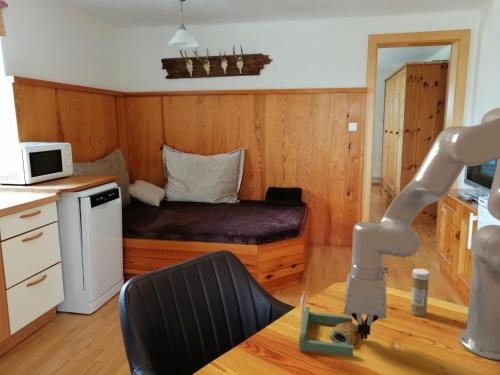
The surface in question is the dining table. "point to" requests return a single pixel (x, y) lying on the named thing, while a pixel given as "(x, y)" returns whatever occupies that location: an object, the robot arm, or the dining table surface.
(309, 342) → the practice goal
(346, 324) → the pastry
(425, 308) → the sprinkles bottle
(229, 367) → the dining table surface
